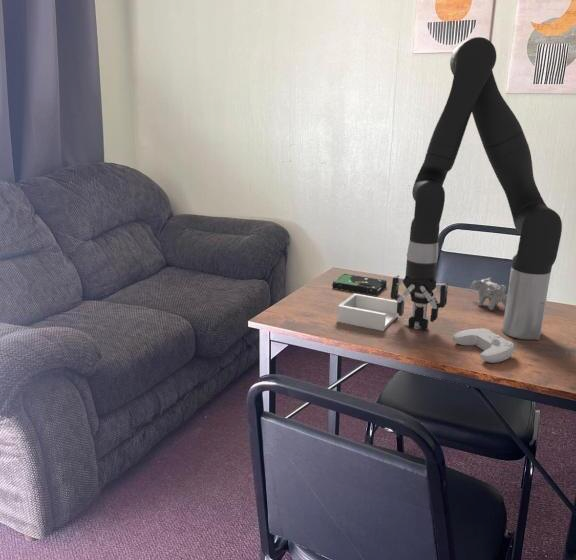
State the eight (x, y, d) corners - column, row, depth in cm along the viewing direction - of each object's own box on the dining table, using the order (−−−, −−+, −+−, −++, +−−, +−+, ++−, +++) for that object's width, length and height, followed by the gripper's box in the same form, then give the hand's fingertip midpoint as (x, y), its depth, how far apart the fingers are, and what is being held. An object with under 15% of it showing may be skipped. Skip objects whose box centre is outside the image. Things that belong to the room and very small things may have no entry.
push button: (400, 327, 147) (403, 291, 144) (406, 321, 152) (409, 286, 149) (424, 333, 144) (428, 296, 141) (430, 326, 149) (434, 290, 146)
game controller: (448, 331, 138) (481, 319, 141) (449, 347, 140) (482, 334, 142) (487, 355, 125) (523, 341, 128) (488, 372, 127) (523, 357, 129)
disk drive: (386, 288, 181) (343, 281, 187) (387, 280, 180) (344, 272, 186) (376, 297, 172) (331, 289, 178) (376, 289, 171) (332, 281, 177)
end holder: (397, 316, 155) (398, 301, 154) (383, 331, 145) (384, 314, 143) (353, 308, 161) (354, 293, 159) (337, 321, 151) (337, 305, 149)
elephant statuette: (499, 313, 159) (502, 288, 157) (459, 304, 166) (461, 279, 164) (510, 305, 166) (514, 280, 163) (471, 296, 173) (474, 272, 171)
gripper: (453, 258, 142) (447, 318, 147) (399, 251, 149) (394, 308, 153) (447, 265, 136) (440, 328, 141) (390, 257, 142) (385, 317, 147)
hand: (416, 317), depth 147 cm, fingers open, 8 cm apart
